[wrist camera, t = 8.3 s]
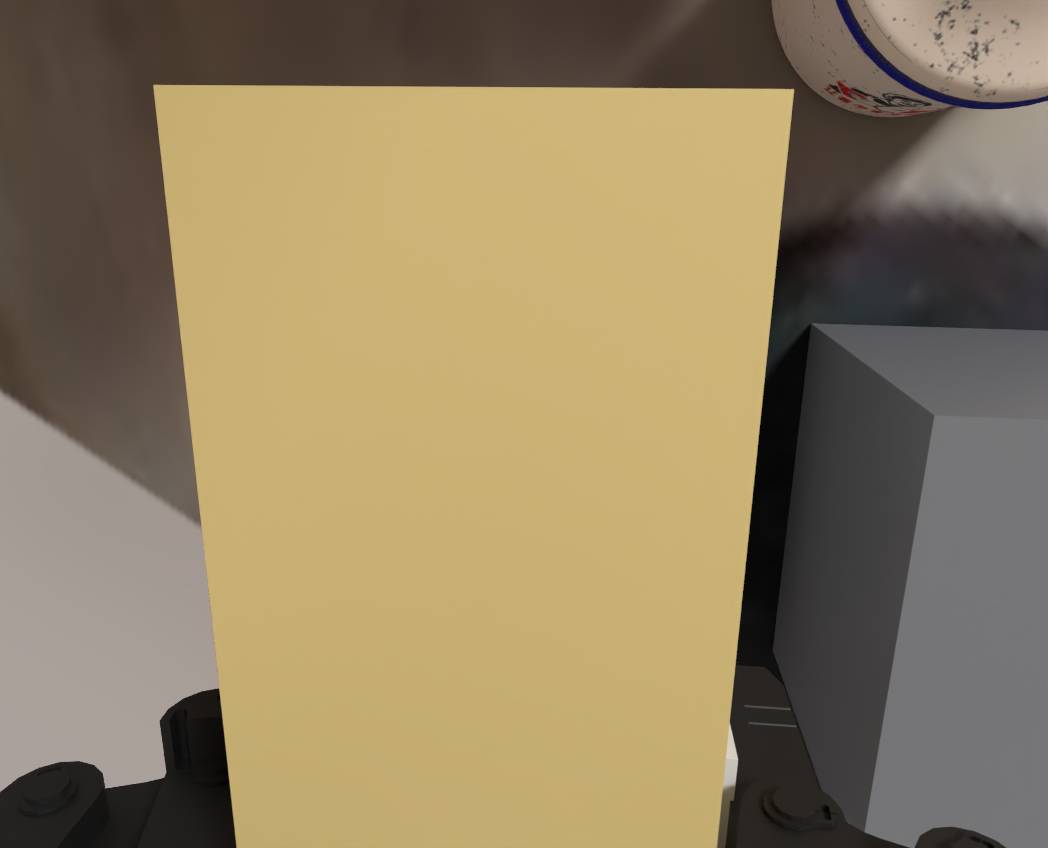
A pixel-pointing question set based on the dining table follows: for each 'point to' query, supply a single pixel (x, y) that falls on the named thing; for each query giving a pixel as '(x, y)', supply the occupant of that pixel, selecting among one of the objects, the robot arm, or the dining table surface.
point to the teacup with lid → (918, 52)
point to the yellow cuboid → (474, 449)
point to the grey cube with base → (922, 579)
